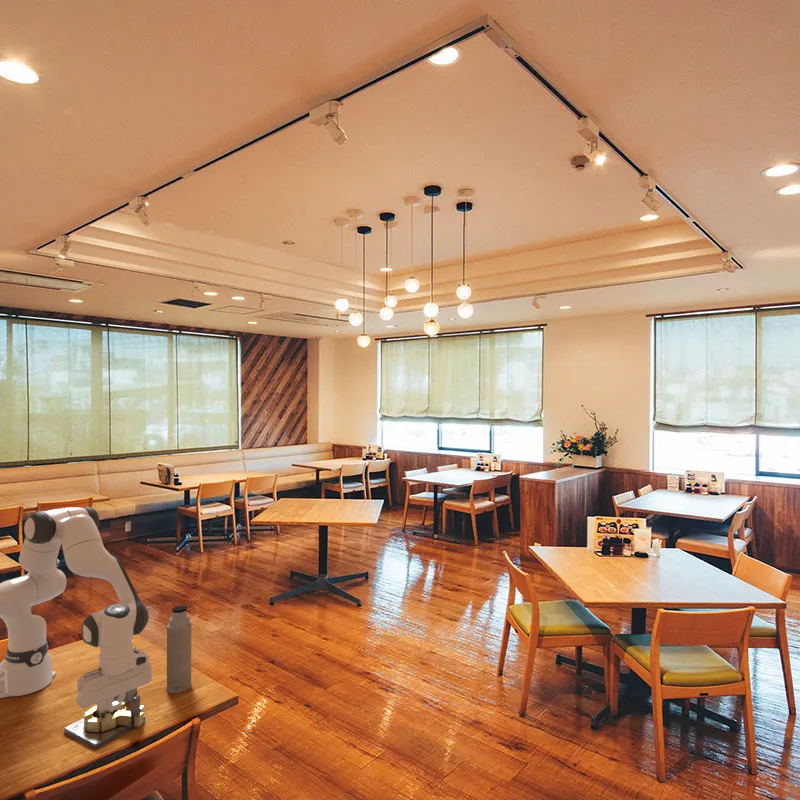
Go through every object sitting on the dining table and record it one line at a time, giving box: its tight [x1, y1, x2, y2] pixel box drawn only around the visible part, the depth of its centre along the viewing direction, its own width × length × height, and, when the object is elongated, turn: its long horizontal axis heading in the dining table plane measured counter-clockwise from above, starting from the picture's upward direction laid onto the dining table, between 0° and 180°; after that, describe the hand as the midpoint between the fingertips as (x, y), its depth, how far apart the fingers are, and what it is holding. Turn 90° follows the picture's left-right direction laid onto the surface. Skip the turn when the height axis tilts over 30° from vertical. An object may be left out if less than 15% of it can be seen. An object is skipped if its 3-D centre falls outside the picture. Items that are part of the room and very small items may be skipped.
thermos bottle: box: [166, 605, 192, 694], centre depth 193 cm, size 8×8×28 cm
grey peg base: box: [63, 697, 146, 750], centre depth 169 cm, size 18×16×10 cm
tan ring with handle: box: [83, 695, 145, 732], centre depth 169 cm, size 18×11×8 cm, turn 82°
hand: (115, 709), depth 162 cm, fingers closed
